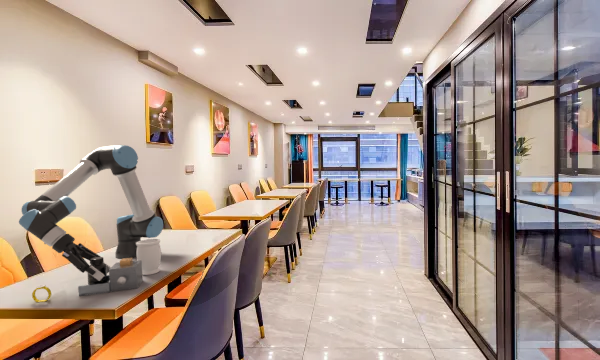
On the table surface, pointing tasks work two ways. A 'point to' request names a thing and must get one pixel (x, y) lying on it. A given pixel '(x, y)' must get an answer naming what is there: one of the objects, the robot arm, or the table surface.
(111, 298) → the table surface
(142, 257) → the jar
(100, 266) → the supplement bottle
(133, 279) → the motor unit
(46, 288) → the watch
